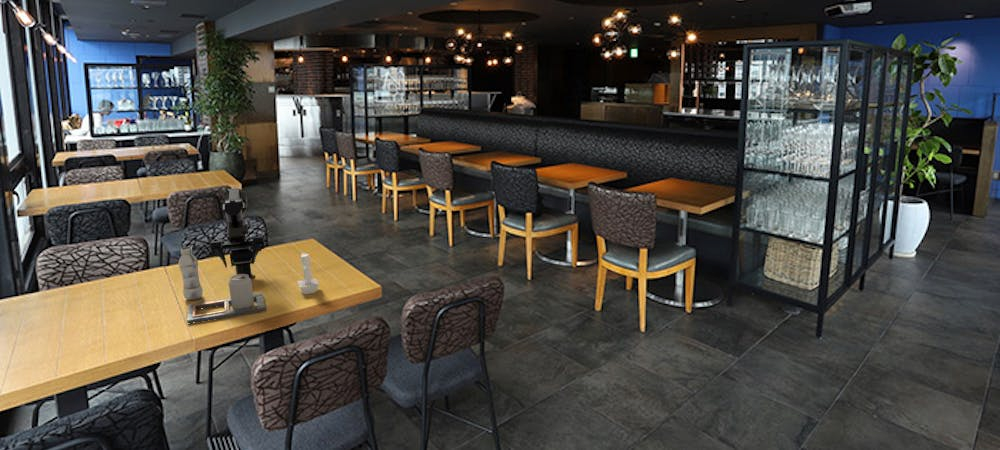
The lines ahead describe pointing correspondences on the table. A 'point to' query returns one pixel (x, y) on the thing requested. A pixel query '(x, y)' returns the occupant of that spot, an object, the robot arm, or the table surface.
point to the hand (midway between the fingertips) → (239, 265)
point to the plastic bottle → (190, 274)
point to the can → (241, 291)
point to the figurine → (307, 277)
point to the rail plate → (223, 314)
